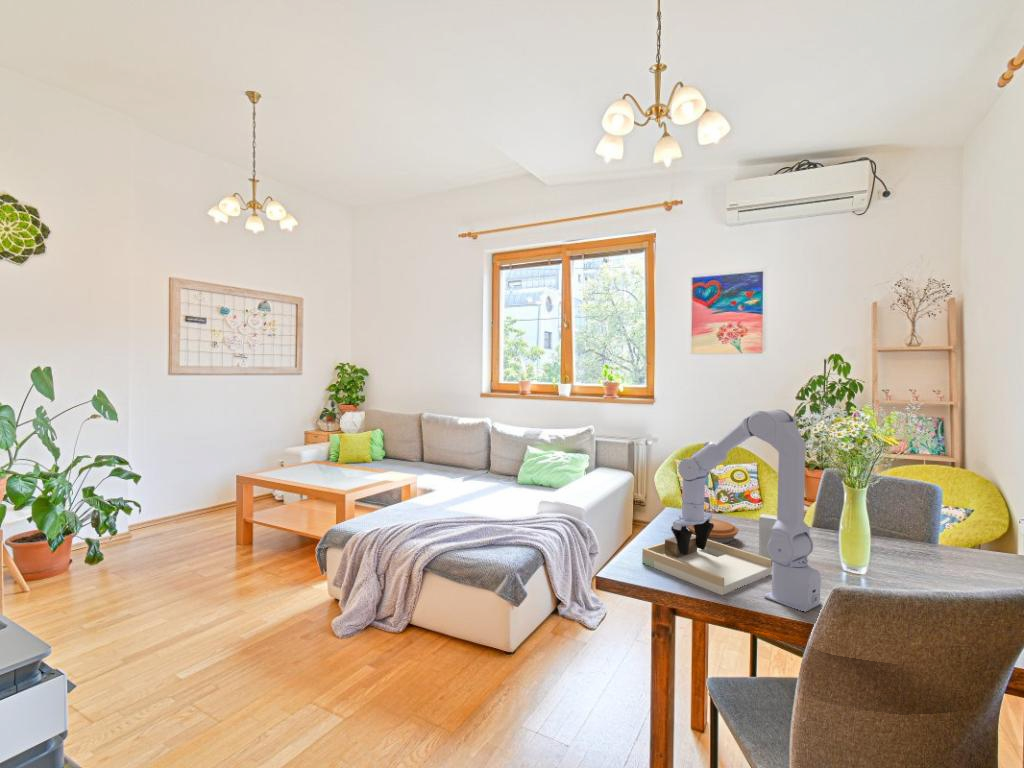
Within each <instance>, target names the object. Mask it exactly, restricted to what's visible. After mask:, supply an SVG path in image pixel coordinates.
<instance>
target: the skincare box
mask: <svg viewBox="0 0 1024 768" xmlns="http://www.w3.org/2000/svg"><path fill="white" fill-rule="evenodd" d="M758 519H759V521H758V522H759V525H758V526H759V529H758V532H759V533H758V542H759V543H758V555H759V556H763V557H766V558H769V559H772V558H771V556H770V555H769V553H768V550H767V543H768V540H769V539H770V537H771V530H772V528H773V526H774V524H775V522H776V520H777V515H774V514H773V515H772V514H765V513H760V515H759V518H758Z"/></svg>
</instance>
